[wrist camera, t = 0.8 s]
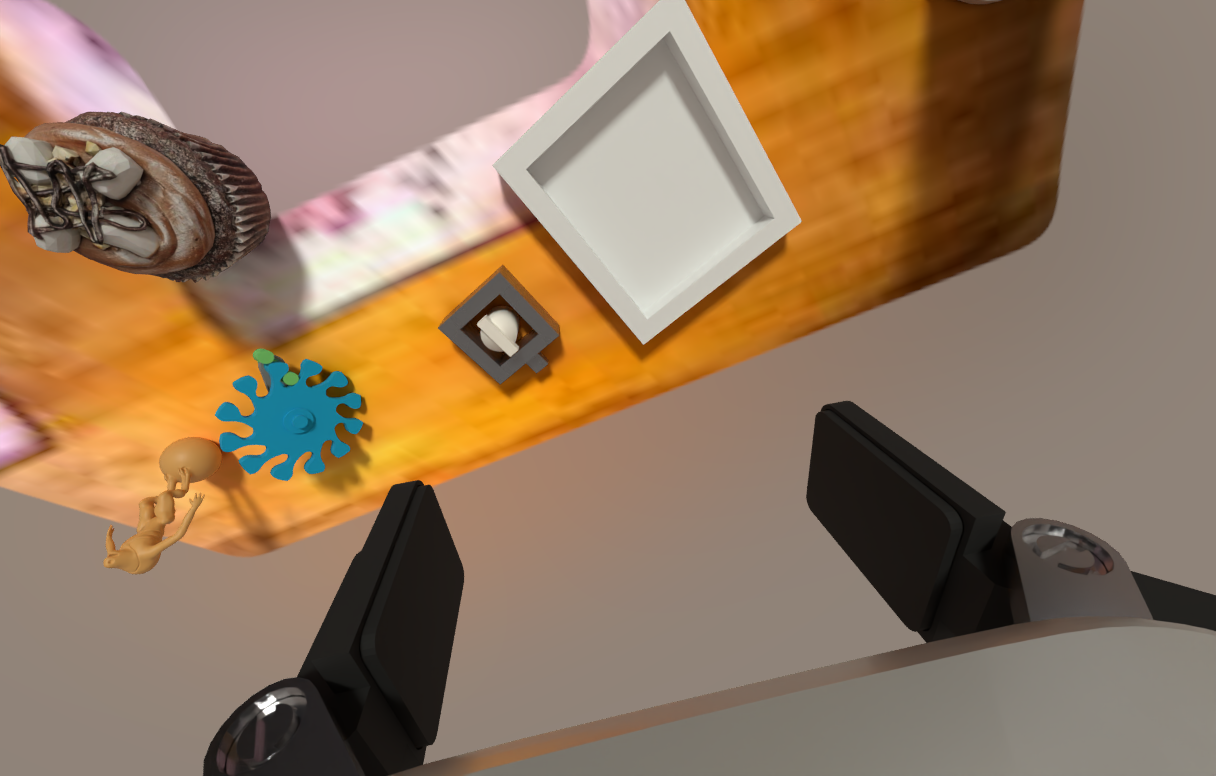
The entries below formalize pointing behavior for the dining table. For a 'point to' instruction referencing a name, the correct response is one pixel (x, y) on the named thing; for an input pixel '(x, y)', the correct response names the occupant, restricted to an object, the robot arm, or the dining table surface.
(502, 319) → the white rounded knob
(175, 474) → the figurine
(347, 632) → the robot arm
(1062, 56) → the dining table surface
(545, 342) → the grey square frame
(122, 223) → the cupcake
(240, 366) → the dining table surface
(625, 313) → the tray
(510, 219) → the dining table surface
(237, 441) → the blue virus model
